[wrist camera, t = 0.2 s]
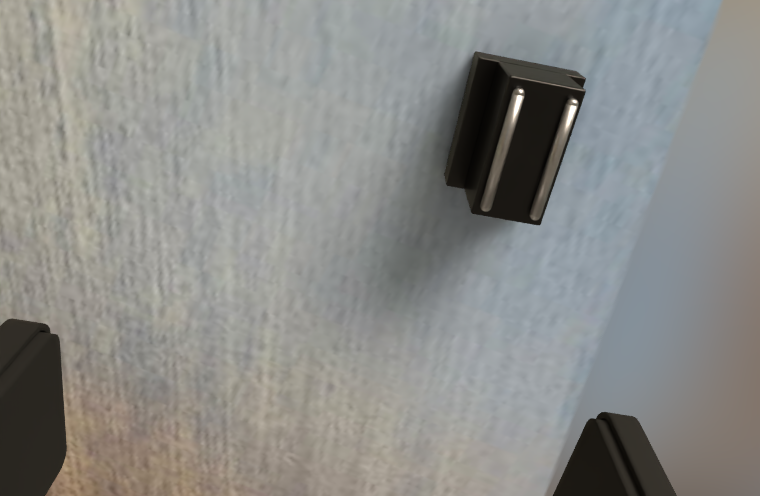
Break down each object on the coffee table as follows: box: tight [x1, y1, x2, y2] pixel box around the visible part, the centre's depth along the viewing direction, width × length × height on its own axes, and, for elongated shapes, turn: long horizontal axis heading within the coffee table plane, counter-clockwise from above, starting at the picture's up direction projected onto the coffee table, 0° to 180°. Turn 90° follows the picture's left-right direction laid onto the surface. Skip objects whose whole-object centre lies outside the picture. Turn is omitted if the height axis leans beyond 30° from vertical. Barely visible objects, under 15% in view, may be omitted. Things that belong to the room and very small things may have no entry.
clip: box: [444, 52, 586, 225], centre depth 22 cm, size 5×4×4 cm
